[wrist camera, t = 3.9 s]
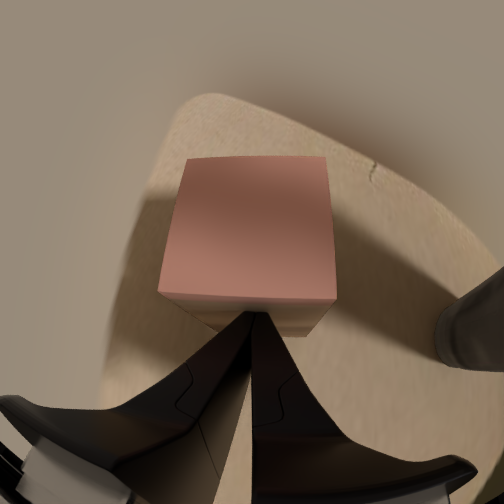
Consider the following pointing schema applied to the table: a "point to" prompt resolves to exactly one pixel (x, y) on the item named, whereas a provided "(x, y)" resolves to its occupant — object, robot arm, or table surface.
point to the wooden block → (252, 241)
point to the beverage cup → (474, 328)
